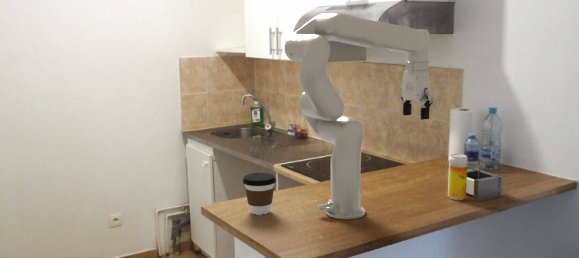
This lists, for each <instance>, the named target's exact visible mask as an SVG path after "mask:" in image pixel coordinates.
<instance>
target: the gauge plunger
mask: <svg viewBox="0 0 579 258" xmlns="http://www.w3.org/2000/svg"><path fill="white" fill-rule="evenodd" d="M469 169H471V170H475V171H478V176H477V179H480V170H481V169H479V170H477V169H478V168H475V167H470V166H468V165H467V170H469ZM466 194H469V195H471V196H474V179H471V178H468V177H467V186H466Z"/></svg>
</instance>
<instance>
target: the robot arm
mask: <svg viewBox="0 0 579 258" xmlns="http://www.w3.org/2000/svg"><path fill="white" fill-rule="evenodd" d="M330 42H337V43H338V42H339V43H342V44H349V45H352V46H357V47H362V48H369V49H386V50H387V51H389V52H391V53H395V54H396V53H398V54H405V70H404V71H403V76H402V82H401V83H402V85H401V89H400V90H399V94H400V99H401V103H402V115H403V116H411V115H412V103H411V102H419V103H420V105H421V107H420V120H429V119H430V108H432V105H433V102H434V99H435V95H434V93H432V92H431V79H430V72H429V70H430V69H429V66H430V65H429V63H430V59H429V58H430V32H429V30H427V29H417V28H413V27H408V26H404V25H400V24H399V25H398V24H393V23H388V22H383V21H380V20H379V21H377V20H372V19H368V18H363V17H358V16H356V15H355V16H354V15H351V14H346V13H341V12H329V13H320V14H318V15H316V16H314V17H313V18H311V19H310V20H309V21H308V22H306V23H304V24H303V25H302V26H301V27H299V28H298V29H297V30H295V31H294V32H293V33H292V34H291V35H289V36H288V38H287V39H286V40H285V44H284V53H285V56H287V58H288V59H289V60H290V61H293V62H295V63H300V64H301V65H300V69H299V75H298V80H299V81H298V82H299V84H300V87H301V90H302V91H303V92H302V93H301V95H300V96H299V99H298V101H299V102H298V105H299V111H300V113H301V115H302V116H303V118H304V119H305V120H306V122H307V123H308V125H309V126H310V127H311V129H312V131H313V132H314V134H315V135H316V136H317V138H319V139H321V140H322V141H324V142H325V143H330V144H333V145H334V148H333V151H332V152H331V156H330V165H329V166H330V198H329V199H327V202H325V203H322V204H320V203H319V204H316V210H317V211H318V212H319V211H320V212H321V211H324V212H325V214H326V215H327V216H328V217H330V218H334V219H338V220H355V219H359V218H362V217H364V216H365V214H366V208H364V207H363V206H361V169H362V168H361V164H362V163H361V160H362V148H363V141H364V137H365V129H364V125H363V124H362V123H361V121H360V120H359V119H357V118H355V117H352V116H349V115H345V114H344V113H345V104H344V101H343V99H342V97H341V96H340V94H339V92H338V91H337V89H336V88H335V87H334V84H333V83H332V82H331V80H330V78H329V76H328V73H327V64H328V61H329V57H330V54H331V46H330Z"/></svg>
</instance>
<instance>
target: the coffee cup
mask: <svg viewBox="0 0 579 258" xmlns="http://www.w3.org/2000/svg"><path fill="white" fill-rule="evenodd" d="M242 183H243V185H244V186H245V187H244V189H245V195H246V199H247V200H246V201H247V204H248V207H249V211H250V213H251V214H252V215H254V214H256V216H263V215H262V214H265V215H268V214H269V213H270V212H271V210H272V209H271V208H272V203H273V199H274V190H275V183H277V178H276V176H275V175H274V174H272V173H268V172H253V173H248V174H245V175H244V176H243V179H242ZM267 213H268V214H267Z"/></svg>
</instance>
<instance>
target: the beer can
mask: <svg viewBox="0 0 579 258" xmlns="http://www.w3.org/2000/svg"><path fill="white" fill-rule="evenodd" d="M448 161H449V169H448V174H447V175H448V177H447V181H448V182H447V197H449V198H448V199H450V200H455V201H462V200H464V199H465V198H466V197H467V193H466V186H467V170H468V168H467V166H468V162H469V161H468V157H467V155H466V154H463V153H453V154H450V156H449V157H448Z"/></svg>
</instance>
